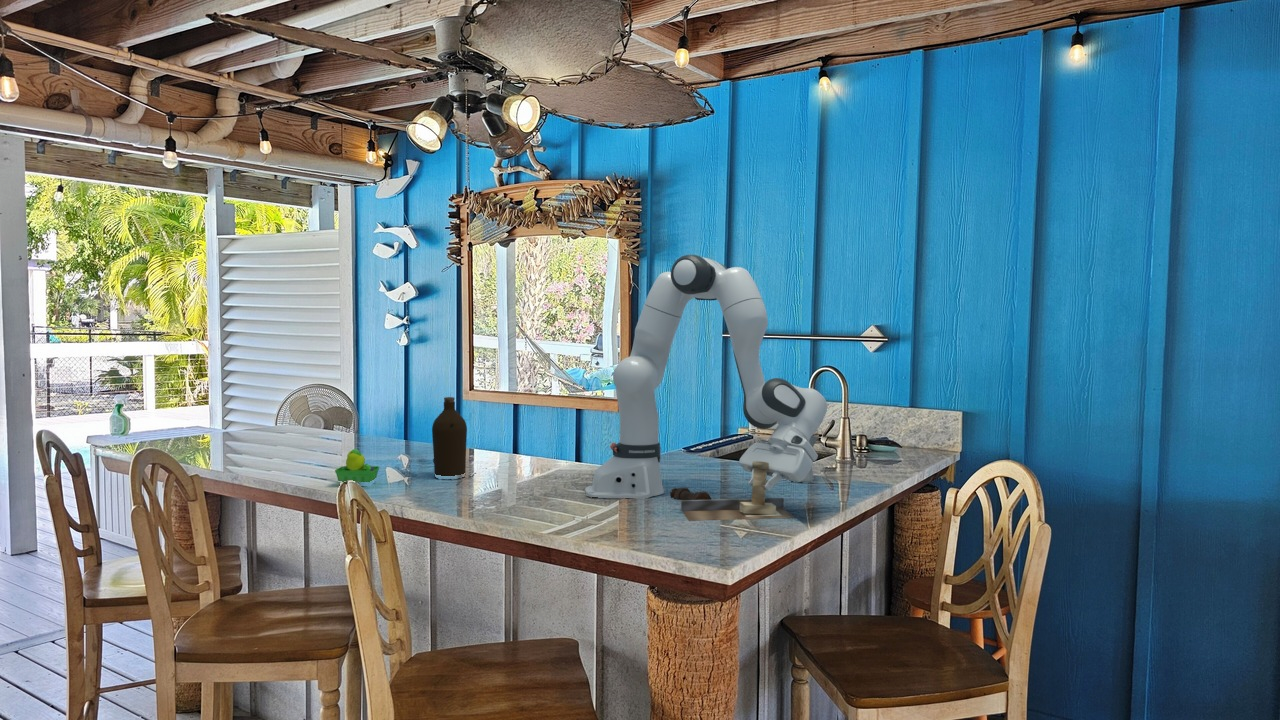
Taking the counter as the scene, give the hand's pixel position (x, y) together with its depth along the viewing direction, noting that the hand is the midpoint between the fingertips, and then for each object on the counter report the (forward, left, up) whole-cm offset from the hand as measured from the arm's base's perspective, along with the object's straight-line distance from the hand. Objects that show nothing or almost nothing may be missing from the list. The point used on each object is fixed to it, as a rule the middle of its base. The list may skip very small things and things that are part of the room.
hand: (758, 487), depth 204 cm
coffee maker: (+25, +48, -8) cm, 55 cm away
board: (-5, 0, -8) cm, 10 cm away
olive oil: (-81, +65, -8) cm, 105 cm away
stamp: (0, 0, -6) cm, 6 cm away
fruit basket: (-107, +55, -8) cm, 121 cm away
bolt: (-14, +17, -8) cm, 23 cm away
